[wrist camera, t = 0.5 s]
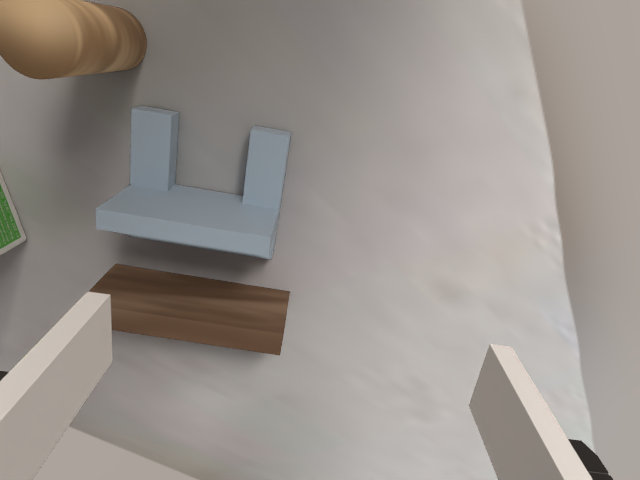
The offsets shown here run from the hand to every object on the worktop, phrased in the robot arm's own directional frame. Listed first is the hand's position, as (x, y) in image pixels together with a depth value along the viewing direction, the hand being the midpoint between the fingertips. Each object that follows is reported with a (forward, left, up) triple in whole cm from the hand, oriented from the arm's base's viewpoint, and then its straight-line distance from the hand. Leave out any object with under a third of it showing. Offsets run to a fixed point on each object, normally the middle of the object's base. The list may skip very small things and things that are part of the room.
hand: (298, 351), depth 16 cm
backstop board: (+12, -8, -25) cm, 29 cm away
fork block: (+2, -8, -24) cm, 26 cm away
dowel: (-8, -16, -25) cm, 31 cm away
